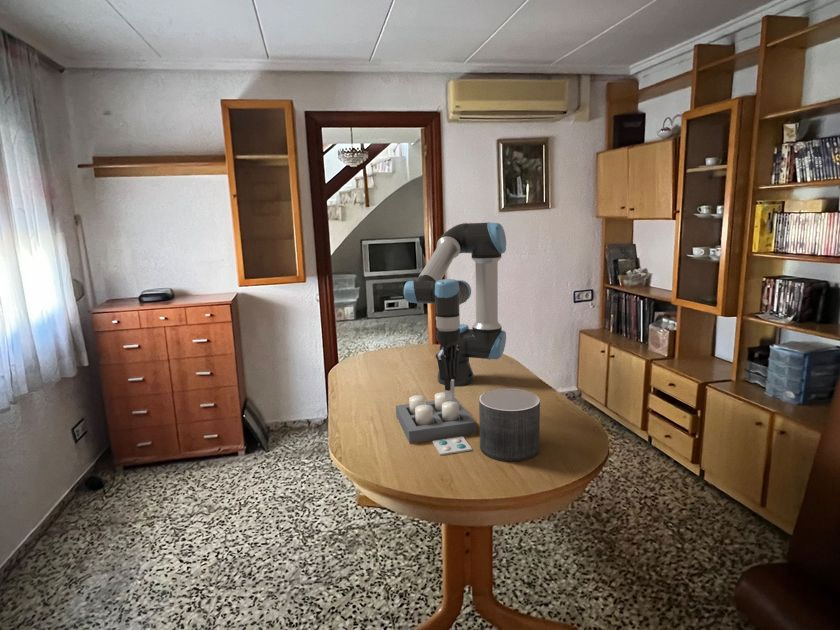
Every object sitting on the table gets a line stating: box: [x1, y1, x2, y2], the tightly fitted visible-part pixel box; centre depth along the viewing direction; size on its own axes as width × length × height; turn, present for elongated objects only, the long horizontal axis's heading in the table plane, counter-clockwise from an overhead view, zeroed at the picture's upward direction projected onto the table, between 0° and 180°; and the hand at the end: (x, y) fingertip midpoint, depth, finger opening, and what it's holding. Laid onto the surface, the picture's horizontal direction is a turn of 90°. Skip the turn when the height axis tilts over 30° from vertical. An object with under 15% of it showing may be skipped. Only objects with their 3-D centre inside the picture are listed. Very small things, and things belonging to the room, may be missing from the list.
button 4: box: [442, 401, 459, 422], centre depth 171 cm, size 6×6×6 cm
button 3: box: [434, 391, 451, 412], centre depth 179 cm, size 6×6×6 cm
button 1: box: [408, 394, 427, 415], centre depth 177 cm, size 6×6×6 cm
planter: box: [478, 387, 541, 462], centre depth 155 cm, size 18×18×16 cm
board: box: [395, 397, 477, 444], centre depth 175 cm, size 22×22×4 cm
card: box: [431, 435, 473, 456], centre depth 159 cm, size 10×9×1 cm
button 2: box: [415, 405, 433, 426], centre depth 169 cm, size 6×6×6 cm
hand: (449, 398), depth 169 cm, fingers closed
